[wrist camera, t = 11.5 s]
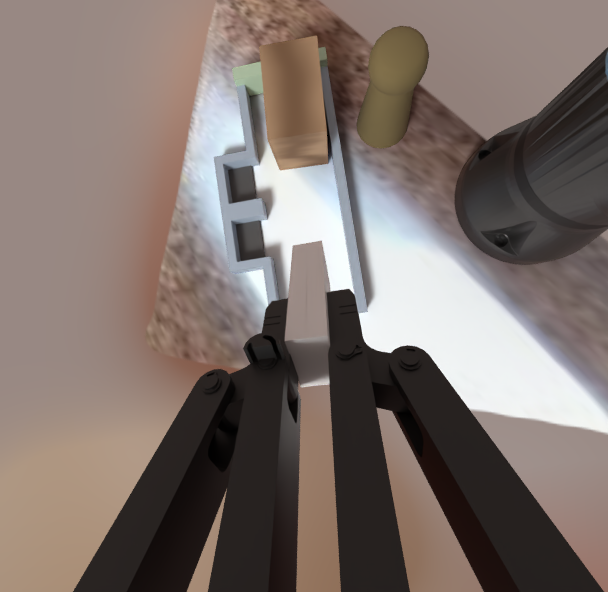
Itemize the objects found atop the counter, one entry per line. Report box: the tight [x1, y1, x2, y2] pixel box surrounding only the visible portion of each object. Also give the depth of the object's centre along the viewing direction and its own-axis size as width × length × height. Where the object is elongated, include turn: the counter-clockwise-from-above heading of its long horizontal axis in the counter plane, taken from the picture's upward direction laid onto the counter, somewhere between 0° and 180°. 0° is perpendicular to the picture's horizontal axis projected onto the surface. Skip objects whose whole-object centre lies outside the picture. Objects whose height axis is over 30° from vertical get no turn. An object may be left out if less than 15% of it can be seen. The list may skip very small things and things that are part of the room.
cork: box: [357, 26, 429, 148], centre depth 31 cm, size 6×6×11 cm
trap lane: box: [214, 47, 368, 313], centre depth 36 cm, size 15×30×3 cm, turn 9°
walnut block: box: [259, 36, 328, 170], centre depth 34 cm, size 6×10×7 cm, turn 6°
